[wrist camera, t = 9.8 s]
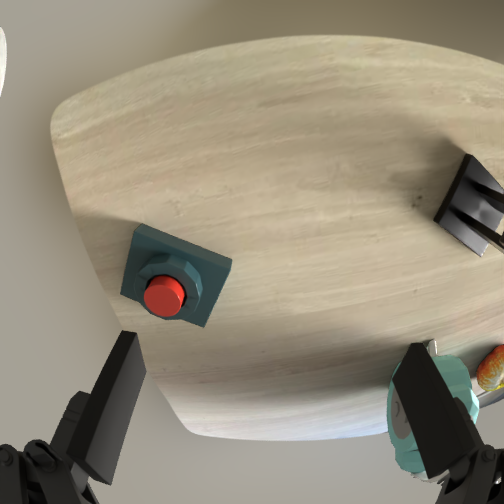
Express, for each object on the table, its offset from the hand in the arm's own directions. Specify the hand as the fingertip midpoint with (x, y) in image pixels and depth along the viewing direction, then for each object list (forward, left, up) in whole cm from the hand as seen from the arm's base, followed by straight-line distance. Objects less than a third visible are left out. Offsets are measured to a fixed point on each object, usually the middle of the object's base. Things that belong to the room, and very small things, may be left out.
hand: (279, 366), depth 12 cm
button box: (-3, -10, -17) cm, 20 cm away
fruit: (+53, +14, -17) cm, 57 cm away
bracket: (+16, +20, -17) cm, 30 cm away
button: (-3, -10, -14) cm, 17 cm away
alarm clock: (+33, 0, -17) cm, 37 cm away
